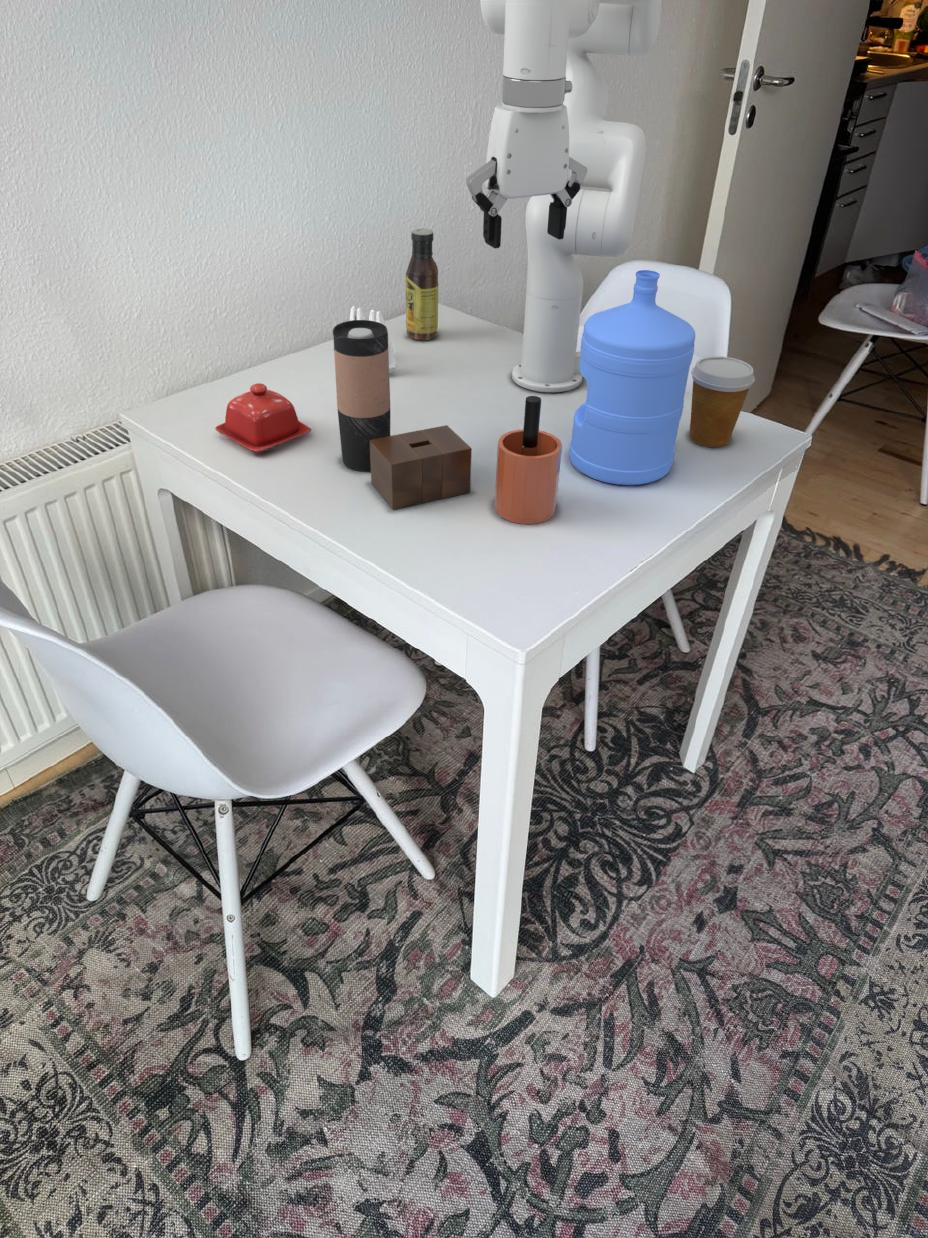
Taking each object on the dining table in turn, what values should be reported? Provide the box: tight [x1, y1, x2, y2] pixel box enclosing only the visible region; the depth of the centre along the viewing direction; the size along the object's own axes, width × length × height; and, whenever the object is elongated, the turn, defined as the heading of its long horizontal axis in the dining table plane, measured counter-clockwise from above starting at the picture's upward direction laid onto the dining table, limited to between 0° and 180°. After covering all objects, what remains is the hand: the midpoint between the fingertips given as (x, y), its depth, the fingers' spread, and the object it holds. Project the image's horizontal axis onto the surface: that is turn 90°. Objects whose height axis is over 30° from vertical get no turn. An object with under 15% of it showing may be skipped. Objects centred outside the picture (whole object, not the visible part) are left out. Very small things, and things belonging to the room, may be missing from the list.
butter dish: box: [214, 383, 312, 453], centre depth 137 cm, size 12×12×8 cm
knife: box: [521, 395, 542, 456], centre depth 118 cm, size 2×2×16 cm
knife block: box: [370, 424, 472, 511], centre depth 125 cm, size 12×8×7 cm, turn 116°
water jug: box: [568, 269, 696, 486], centre depth 127 cm, size 16×16×28 cm
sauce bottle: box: [405, 227, 439, 341], centre depth 169 cm, size 7×6×20 cm
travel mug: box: [332, 319, 391, 472], centre depth 128 cm, size 8×8×20 cm
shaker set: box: [349, 305, 399, 374], centre depth 159 cm, size 12×4×11 cm, turn 36°
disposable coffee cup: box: [689, 355, 756, 448], centre depth 139 cm, size 10×10×12 cm
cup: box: [494, 428, 563, 525], centre depth 121 cm, size 8×8×10 cm
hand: (524, 240), depth 118 cm, fingers open, 9 cm apart
